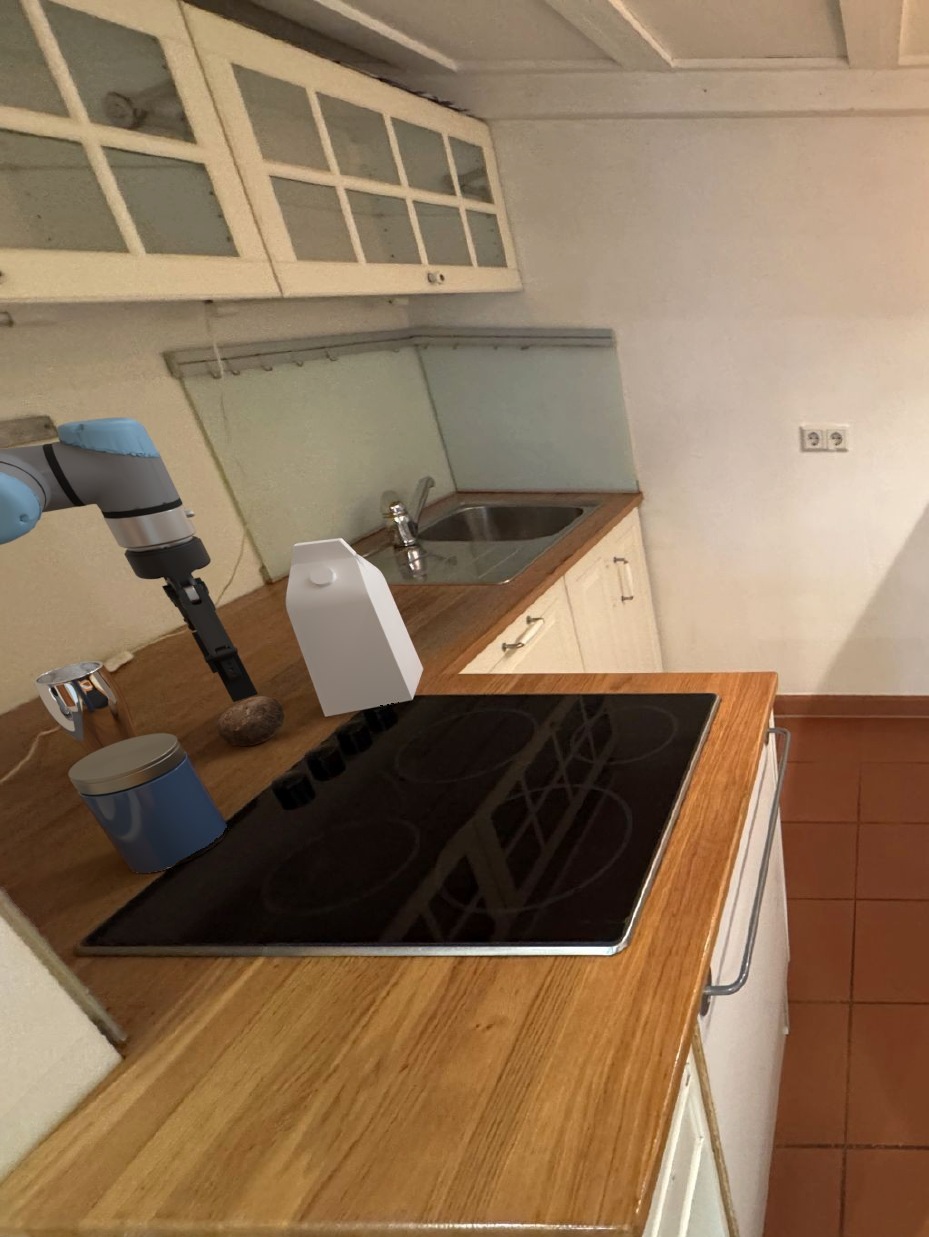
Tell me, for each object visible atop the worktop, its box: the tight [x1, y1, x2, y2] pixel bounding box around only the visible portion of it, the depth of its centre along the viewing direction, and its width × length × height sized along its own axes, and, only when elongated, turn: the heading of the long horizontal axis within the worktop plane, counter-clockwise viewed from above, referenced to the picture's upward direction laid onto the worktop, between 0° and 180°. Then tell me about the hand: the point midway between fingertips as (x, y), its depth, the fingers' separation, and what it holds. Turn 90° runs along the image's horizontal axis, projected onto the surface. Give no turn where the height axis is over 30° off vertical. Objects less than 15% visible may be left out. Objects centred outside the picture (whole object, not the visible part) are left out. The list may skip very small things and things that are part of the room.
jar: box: [77, 750, 228, 874], centre depth 80 cm, size 9×9×13 cm
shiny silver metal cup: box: [32, 660, 139, 756], centre depth 95 cm, size 7×7×15 cm
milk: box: [285, 537, 424, 718], centre depth 110 cm, size 12×12×26 cm
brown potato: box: [216, 695, 285, 747], centre depth 103 cm, size 8×8×6 cm
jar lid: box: [67, 732, 186, 795], centre depth 78 cm, size 9×9×2 cm
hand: (234, 683), depth 100 cm, fingers open, 13 cm apart
